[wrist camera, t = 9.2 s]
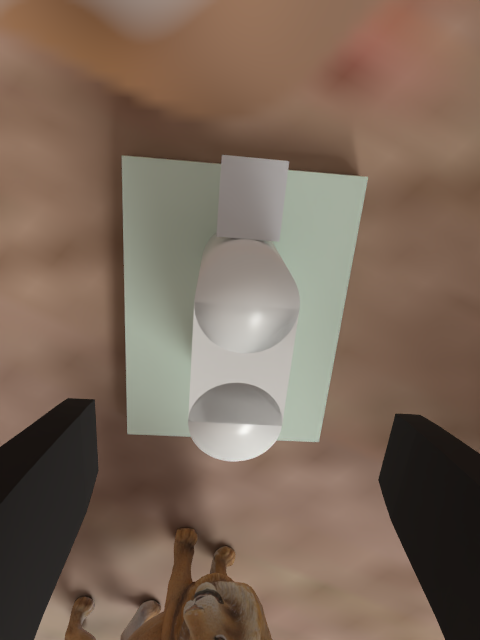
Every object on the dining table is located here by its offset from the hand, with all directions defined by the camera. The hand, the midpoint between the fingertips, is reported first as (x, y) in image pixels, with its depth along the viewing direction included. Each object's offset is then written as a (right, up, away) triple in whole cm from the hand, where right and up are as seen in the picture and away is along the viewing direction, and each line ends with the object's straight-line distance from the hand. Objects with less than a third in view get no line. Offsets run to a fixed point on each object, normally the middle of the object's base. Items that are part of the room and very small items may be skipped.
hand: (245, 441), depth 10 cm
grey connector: (0, +4, +7) cm, 8 cm away
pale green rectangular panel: (0, +3, +8) cm, 9 cm away
